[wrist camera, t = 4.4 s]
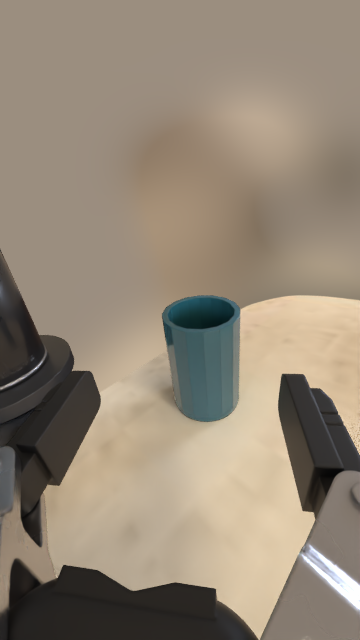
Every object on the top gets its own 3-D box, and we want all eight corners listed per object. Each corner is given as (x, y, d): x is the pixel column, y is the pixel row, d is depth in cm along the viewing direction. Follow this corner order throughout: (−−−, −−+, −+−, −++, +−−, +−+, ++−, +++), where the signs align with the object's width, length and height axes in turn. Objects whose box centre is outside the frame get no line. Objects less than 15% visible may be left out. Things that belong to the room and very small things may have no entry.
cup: (162, 404, 26) (146, 320, 21) (196, 367, 30) (189, 291, 25) (219, 433, 22) (216, 341, 17) (248, 386, 27) (252, 302, 22)
